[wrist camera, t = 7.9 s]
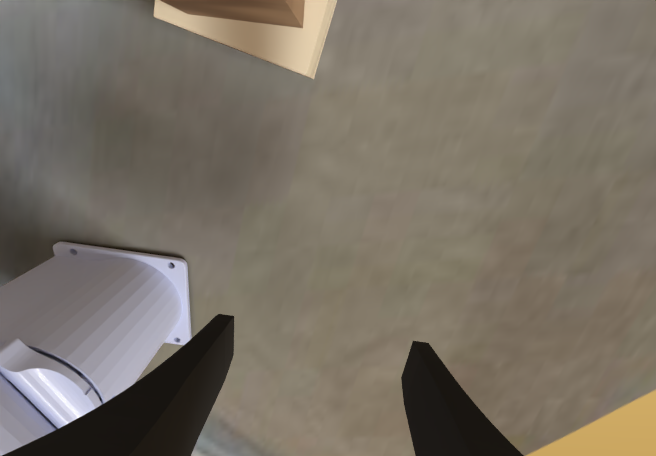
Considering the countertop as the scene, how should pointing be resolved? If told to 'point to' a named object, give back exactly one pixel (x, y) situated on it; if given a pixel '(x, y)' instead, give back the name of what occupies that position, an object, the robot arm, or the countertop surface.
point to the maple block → (264, 34)
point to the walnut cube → (246, 10)
